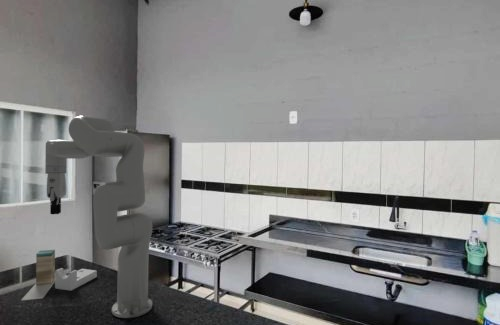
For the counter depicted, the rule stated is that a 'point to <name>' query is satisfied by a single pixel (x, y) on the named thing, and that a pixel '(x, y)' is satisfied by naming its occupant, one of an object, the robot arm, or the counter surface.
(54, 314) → the counter surface
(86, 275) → the bracket
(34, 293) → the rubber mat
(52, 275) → the maple block
